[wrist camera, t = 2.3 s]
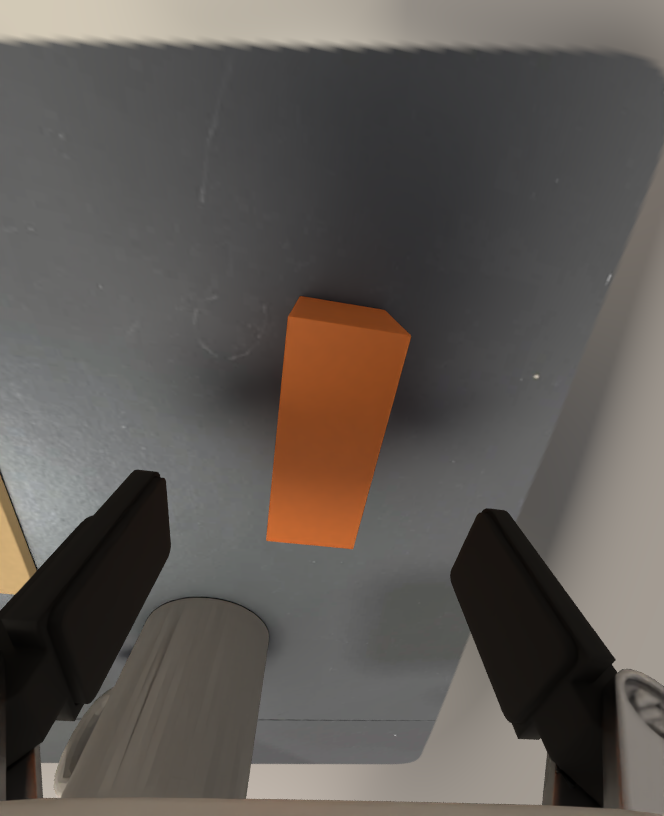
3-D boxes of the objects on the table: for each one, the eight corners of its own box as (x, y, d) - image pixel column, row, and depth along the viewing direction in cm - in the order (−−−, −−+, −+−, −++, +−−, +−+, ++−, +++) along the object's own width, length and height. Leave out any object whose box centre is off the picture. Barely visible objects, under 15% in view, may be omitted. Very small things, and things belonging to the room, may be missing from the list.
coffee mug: (252, 591, 23) (207, 801, 14) (280, 661, 28) (258, 856, 19) (80, 609, 24) (-65, 821, 15) (134, 675, 28) (46, 870, 19)
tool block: (299, 295, 14) (287, 315, 10) (385, 309, 15) (411, 335, 10) (280, 471, 19) (265, 541, 14) (346, 479, 19) (353, 549, 14)
